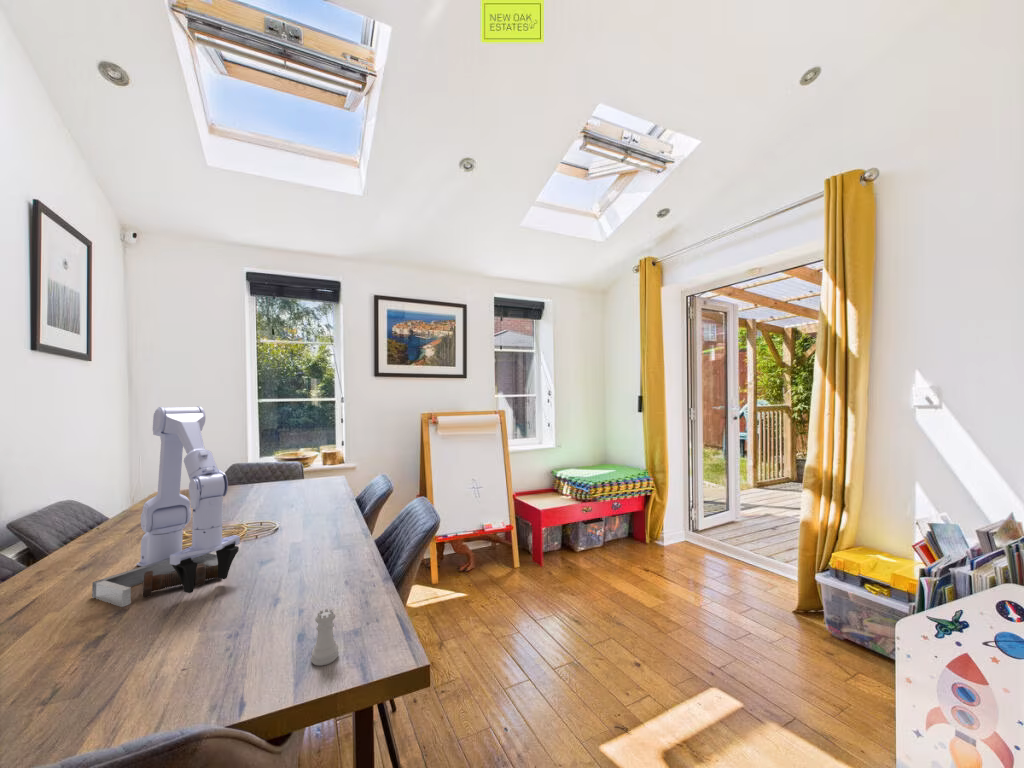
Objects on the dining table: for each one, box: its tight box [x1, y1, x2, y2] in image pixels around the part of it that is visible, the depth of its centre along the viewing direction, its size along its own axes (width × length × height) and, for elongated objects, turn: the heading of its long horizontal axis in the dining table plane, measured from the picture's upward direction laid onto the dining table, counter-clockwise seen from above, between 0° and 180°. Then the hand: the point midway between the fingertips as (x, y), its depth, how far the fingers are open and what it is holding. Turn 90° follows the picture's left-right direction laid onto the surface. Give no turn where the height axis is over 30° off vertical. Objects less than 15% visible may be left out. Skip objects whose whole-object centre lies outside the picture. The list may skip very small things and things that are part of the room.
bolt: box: [142, 564, 219, 598], centre depth 102 cm, size 6×5×15 cm
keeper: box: [91, 551, 218, 608], centre depth 104 cm, size 12×23×4 cm, turn 158°
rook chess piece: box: [310, 608, 339, 667], centre depth 74 cm, size 4×4×8 cm
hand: (206, 584), depth 99 cm, fingers open, 7 cm apart
